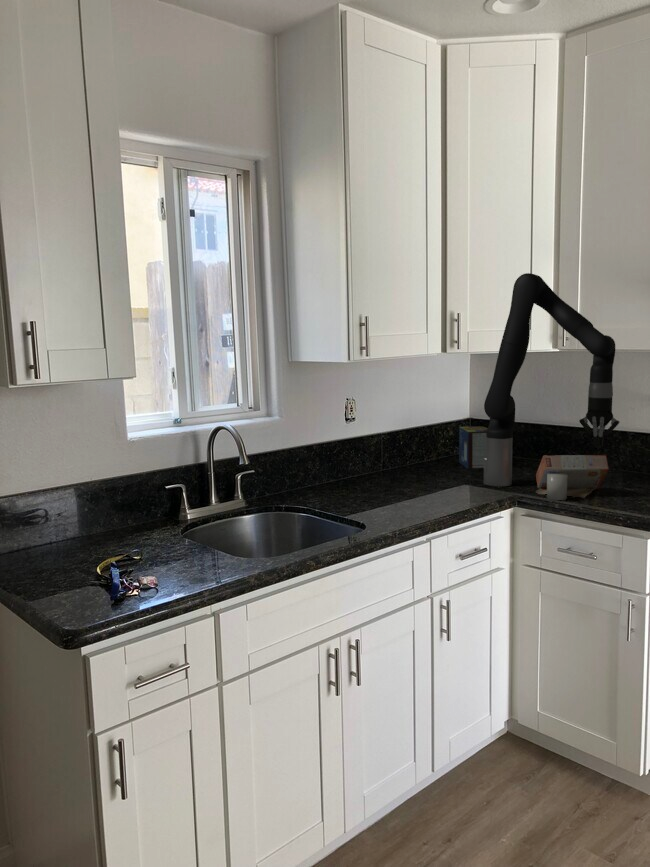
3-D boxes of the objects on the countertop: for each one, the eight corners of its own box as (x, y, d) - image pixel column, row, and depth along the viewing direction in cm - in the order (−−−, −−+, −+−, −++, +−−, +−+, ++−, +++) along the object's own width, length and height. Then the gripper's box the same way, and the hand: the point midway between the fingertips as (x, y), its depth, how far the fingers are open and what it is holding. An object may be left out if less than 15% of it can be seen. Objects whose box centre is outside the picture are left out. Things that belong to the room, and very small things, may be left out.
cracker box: (606, 453, 239) (542, 454, 241) (610, 470, 236) (545, 470, 238) (595, 473, 251) (534, 473, 253) (598, 488, 248) (537, 489, 250)
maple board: (535, 493, 245) (535, 491, 245) (549, 484, 260) (549, 481, 260) (584, 498, 236) (584, 496, 236) (596, 488, 252) (596, 486, 251)
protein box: (482, 462, 308) (483, 426, 305) (492, 468, 292) (493, 430, 290) (458, 462, 307) (458, 426, 305) (467, 469, 292) (467, 431, 290)
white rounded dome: (544, 499, 236) (544, 475, 235) (549, 495, 242) (550, 472, 241) (564, 501, 233) (564, 477, 232) (569, 497, 238) (569, 473, 237)
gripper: (577, 396, 239) (575, 447, 241) (619, 397, 232) (617, 450, 234) (582, 394, 245) (580, 444, 248) (623, 395, 238) (621, 447, 241)
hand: (598, 447), depth 241 cm, fingers closed
